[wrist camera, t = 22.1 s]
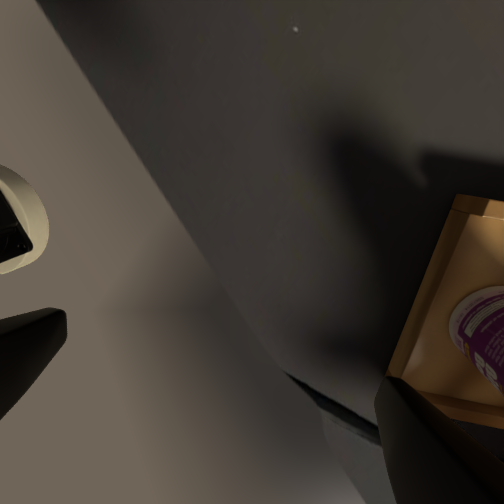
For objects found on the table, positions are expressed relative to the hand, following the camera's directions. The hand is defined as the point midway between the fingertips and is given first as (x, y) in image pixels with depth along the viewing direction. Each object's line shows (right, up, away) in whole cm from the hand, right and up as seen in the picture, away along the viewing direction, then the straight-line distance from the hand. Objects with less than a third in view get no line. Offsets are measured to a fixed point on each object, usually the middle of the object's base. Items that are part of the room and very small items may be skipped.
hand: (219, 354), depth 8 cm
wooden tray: (+17, -1, +12) cm, 21 cm away
